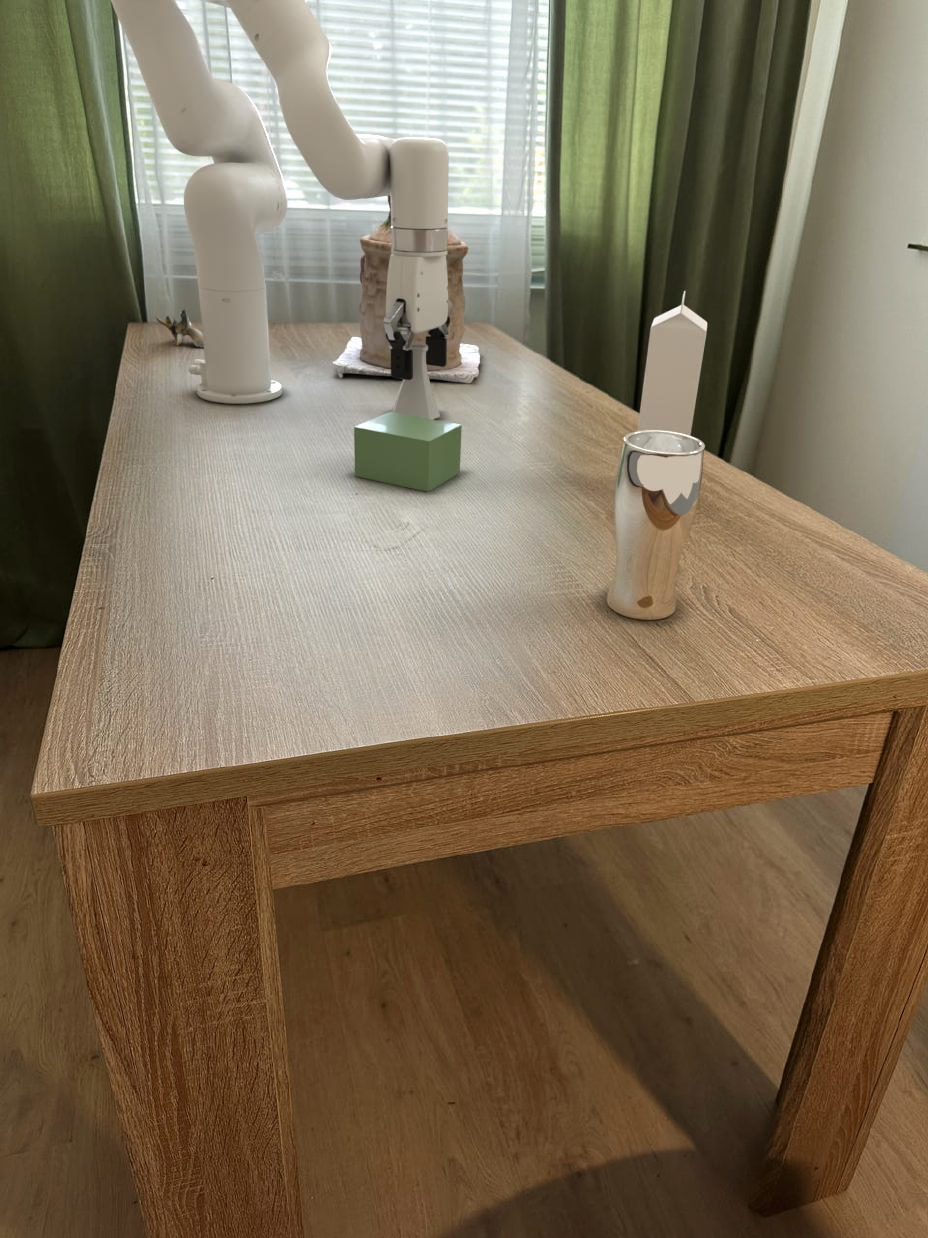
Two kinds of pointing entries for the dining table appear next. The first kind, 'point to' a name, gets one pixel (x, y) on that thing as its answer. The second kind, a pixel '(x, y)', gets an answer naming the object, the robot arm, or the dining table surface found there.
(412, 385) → the flask
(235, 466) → the dining table surface
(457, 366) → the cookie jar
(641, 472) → the beer glass
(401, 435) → the green block
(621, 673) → the dining table surface
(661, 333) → the milk
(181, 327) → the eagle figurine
